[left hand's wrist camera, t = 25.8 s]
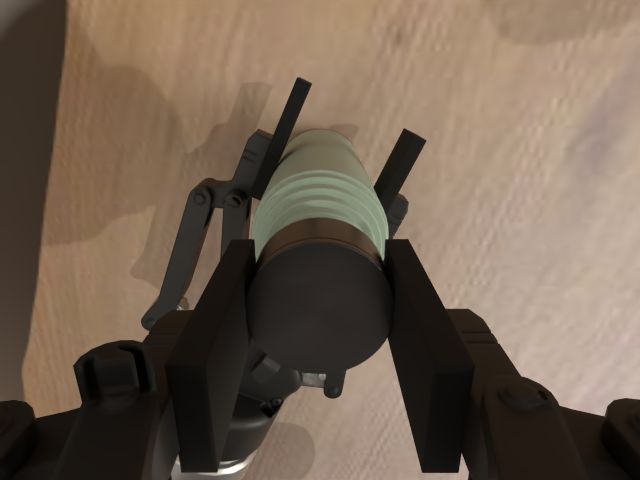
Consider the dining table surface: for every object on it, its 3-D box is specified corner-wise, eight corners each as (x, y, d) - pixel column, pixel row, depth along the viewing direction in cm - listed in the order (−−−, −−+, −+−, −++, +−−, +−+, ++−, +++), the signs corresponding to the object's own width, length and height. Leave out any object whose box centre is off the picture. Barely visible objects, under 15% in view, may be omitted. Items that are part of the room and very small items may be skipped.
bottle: (333, 112, 29) (353, 169, 12) (374, 182, 31) (446, 324, 13) (264, 157, 30) (186, 272, 13) (307, 222, 32) (293, 402, 15)
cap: (316, 188, 13) (315, 210, 11) (411, 274, 14) (426, 308, 12) (229, 280, 14) (213, 316, 12) (323, 354, 16) (323, 397, 13)
